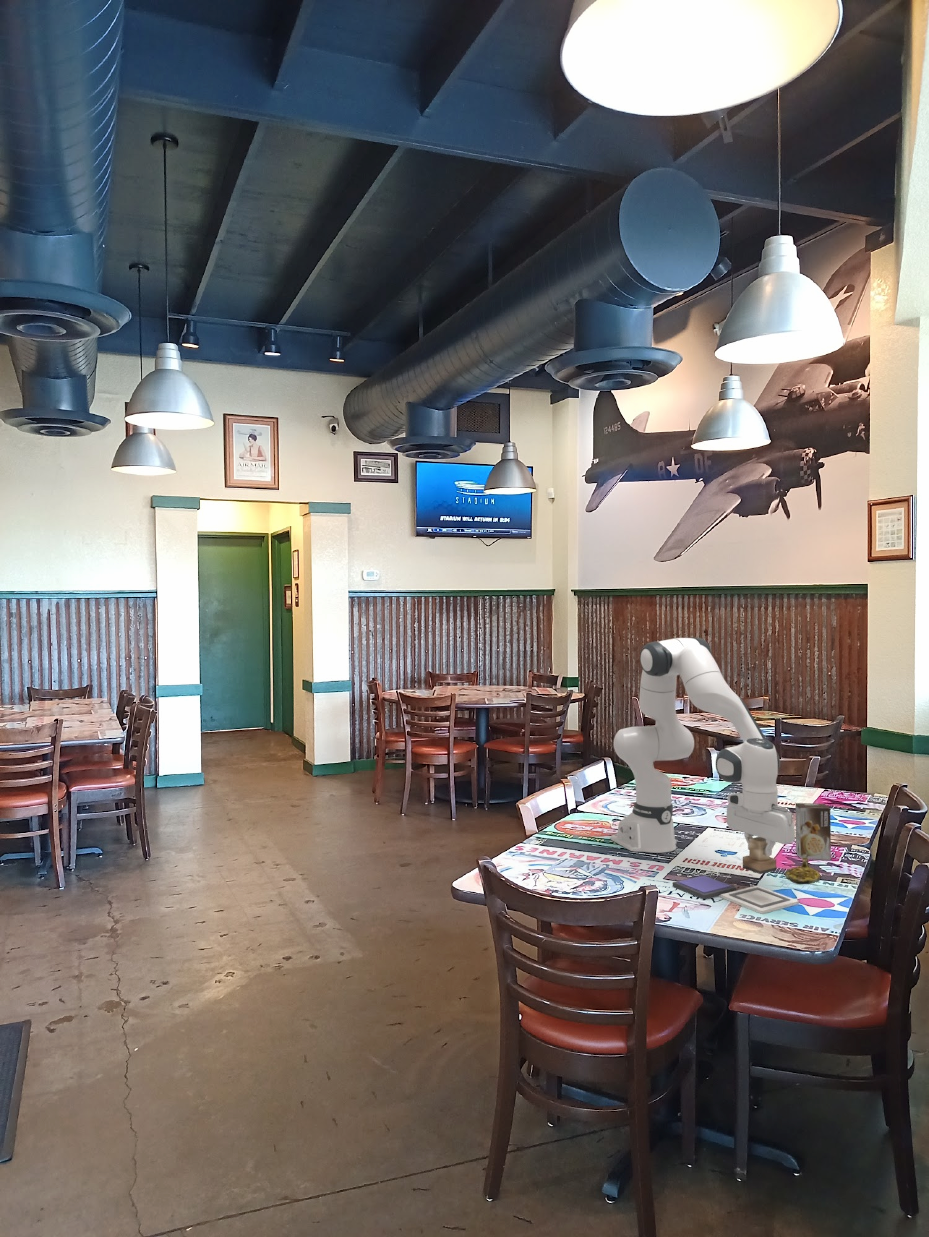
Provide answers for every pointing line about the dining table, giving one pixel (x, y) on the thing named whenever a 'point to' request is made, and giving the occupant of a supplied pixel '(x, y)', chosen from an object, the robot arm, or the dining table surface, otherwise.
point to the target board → (759, 899)
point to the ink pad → (704, 887)
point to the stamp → (758, 857)
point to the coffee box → (813, 831)
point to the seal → (803, 874)
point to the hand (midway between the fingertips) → (759, 852)
